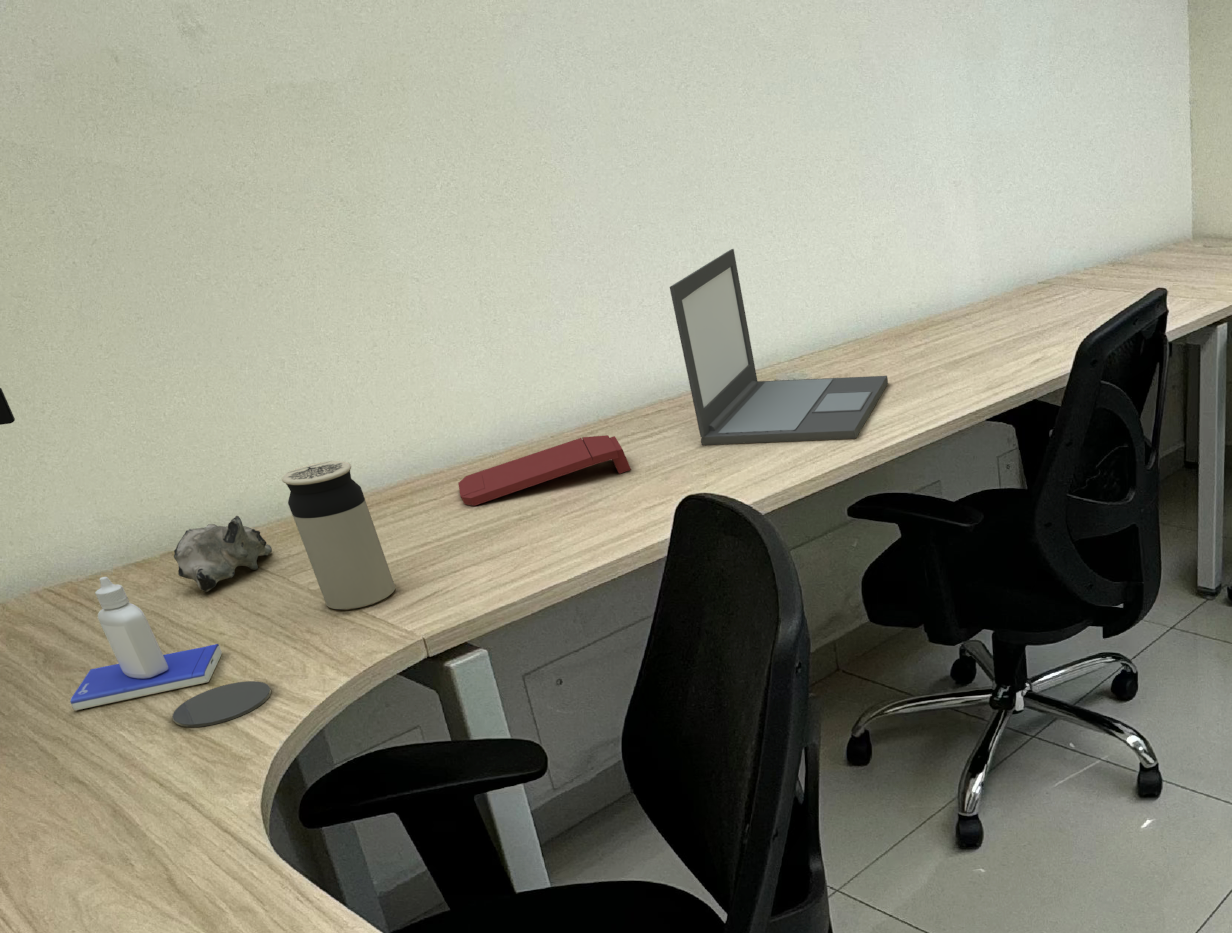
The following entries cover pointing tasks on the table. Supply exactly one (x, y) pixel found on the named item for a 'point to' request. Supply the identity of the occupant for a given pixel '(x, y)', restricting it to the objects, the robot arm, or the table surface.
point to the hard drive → (118, 686)
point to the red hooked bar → (541, 468)
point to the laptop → (728, 375)
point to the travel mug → (338, 535)
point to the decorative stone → (218, 552)
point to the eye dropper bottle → (128, 633)
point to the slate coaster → (221, 704)
